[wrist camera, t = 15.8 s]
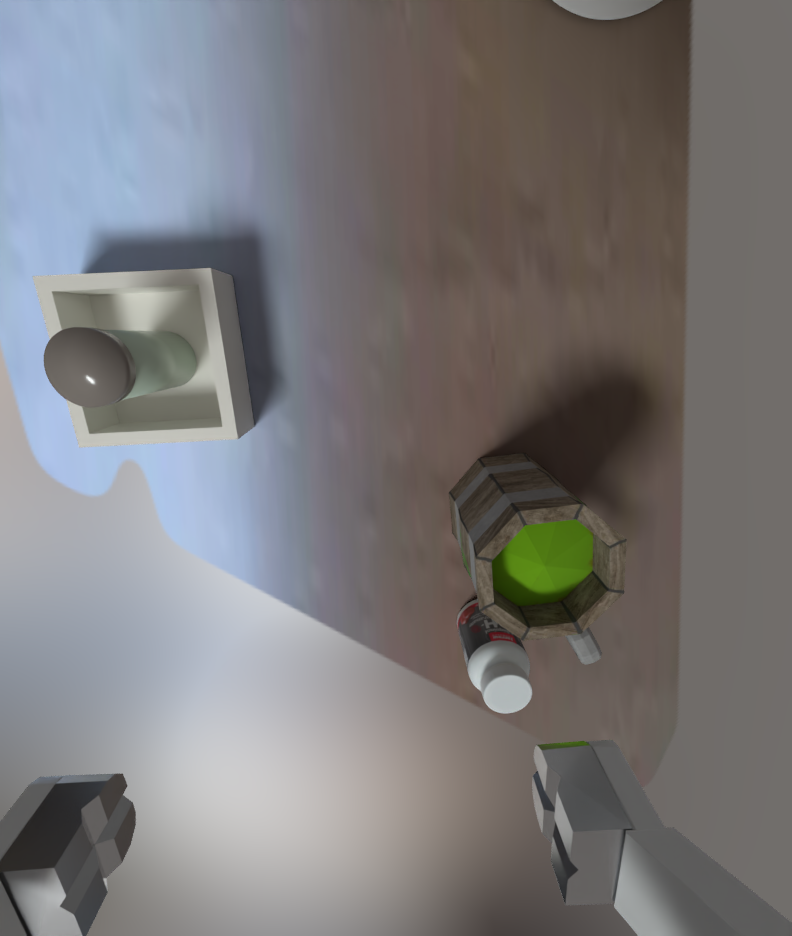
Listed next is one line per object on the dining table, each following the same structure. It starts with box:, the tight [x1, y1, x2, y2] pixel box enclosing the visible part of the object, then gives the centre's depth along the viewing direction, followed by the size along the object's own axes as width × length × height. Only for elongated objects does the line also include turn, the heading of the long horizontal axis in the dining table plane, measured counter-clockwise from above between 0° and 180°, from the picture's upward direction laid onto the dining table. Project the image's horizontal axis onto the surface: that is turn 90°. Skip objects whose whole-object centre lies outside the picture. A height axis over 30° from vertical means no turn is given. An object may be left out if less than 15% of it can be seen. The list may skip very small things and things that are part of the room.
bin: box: [33, 268, 255, 447], centre depth 34 cm, size 12×12×5 cm
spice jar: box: [44, 327, 196, 408], centre depth 31 cm, size 5×5×10 cm
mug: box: [449, 453, 626, 664], centre depth 36 cm, size 16×11×12 cm
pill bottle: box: [457, 599, 532, 713], centre depth 40 cm, size 5×5×10 cm
